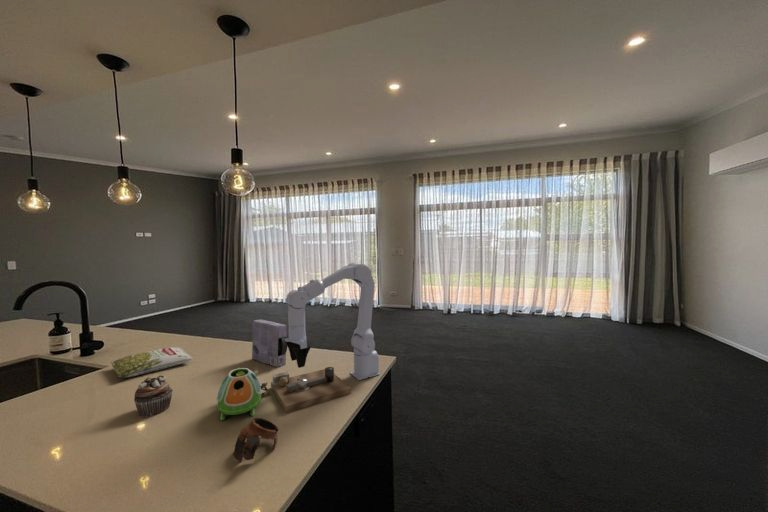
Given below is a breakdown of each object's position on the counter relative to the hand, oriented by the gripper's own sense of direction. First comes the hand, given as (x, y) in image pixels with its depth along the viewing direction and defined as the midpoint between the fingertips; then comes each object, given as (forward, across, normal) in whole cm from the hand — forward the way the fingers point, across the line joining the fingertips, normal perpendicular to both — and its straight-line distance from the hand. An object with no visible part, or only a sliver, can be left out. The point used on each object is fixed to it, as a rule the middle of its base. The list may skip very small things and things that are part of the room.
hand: (297, 363), depth 105 cm
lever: (+8, +3, +4) cm, 9 cm away
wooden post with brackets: (+10, -3, -13) cm, 17 cm away
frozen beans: (+10, -57, -45) cm, 74 cm away
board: (+10, +2, +4) cm, 11 cm away
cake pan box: (+10, -34, -2) cm, 36 cm away
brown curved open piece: (+10, +26, -19) cm, 33 cm away
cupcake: (+10, -13, -42) cm, 45 cm away
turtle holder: (+10, +1, -19) cm, 21 cm away
